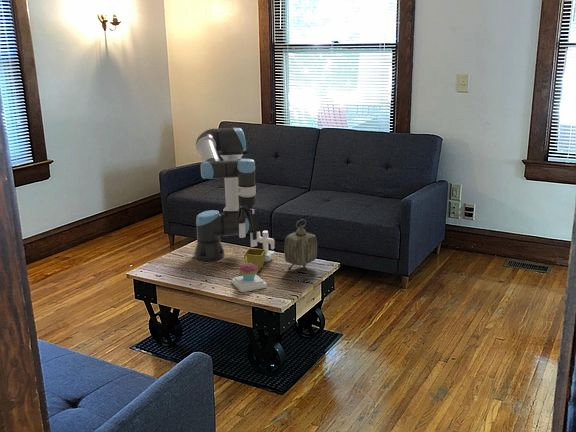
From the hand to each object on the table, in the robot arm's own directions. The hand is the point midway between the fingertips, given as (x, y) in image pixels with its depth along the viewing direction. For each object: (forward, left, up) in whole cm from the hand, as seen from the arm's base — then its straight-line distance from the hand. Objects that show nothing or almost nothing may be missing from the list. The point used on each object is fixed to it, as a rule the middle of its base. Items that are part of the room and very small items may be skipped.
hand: (248, 241), depth 267 cm
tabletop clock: (-7, +30, -21) cm, 37 cm away
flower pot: (-17, +10, -21) cm, 29 cm away
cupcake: (0, 0, -18) cm, 18 cm away
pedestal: (0, 0, -21) cm, 21 cm away
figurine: (-27, +20, -21) cm, 39 cm away
